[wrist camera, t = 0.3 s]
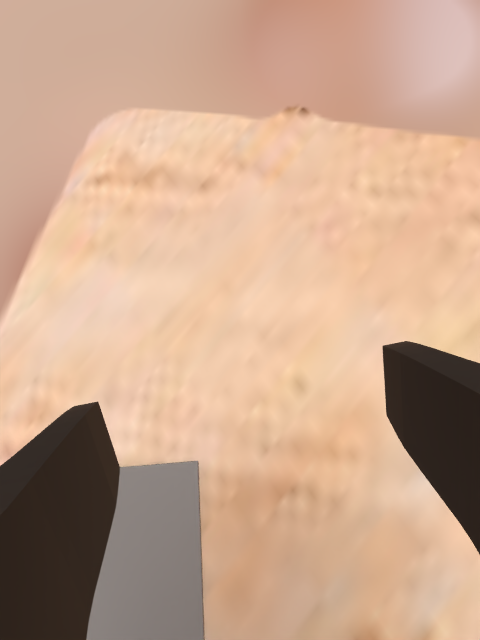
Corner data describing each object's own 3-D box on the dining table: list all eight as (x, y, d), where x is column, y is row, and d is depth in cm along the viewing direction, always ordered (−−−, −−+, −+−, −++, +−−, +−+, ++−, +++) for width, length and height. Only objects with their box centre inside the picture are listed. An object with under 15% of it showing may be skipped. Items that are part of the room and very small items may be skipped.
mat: (205, 667, 33) (204, 669, 33) (33, 681, 33) (31, 683, 33) (198, 461, 40) (197, 460, 39) (53, 473, 40) (52, 473, 39)
